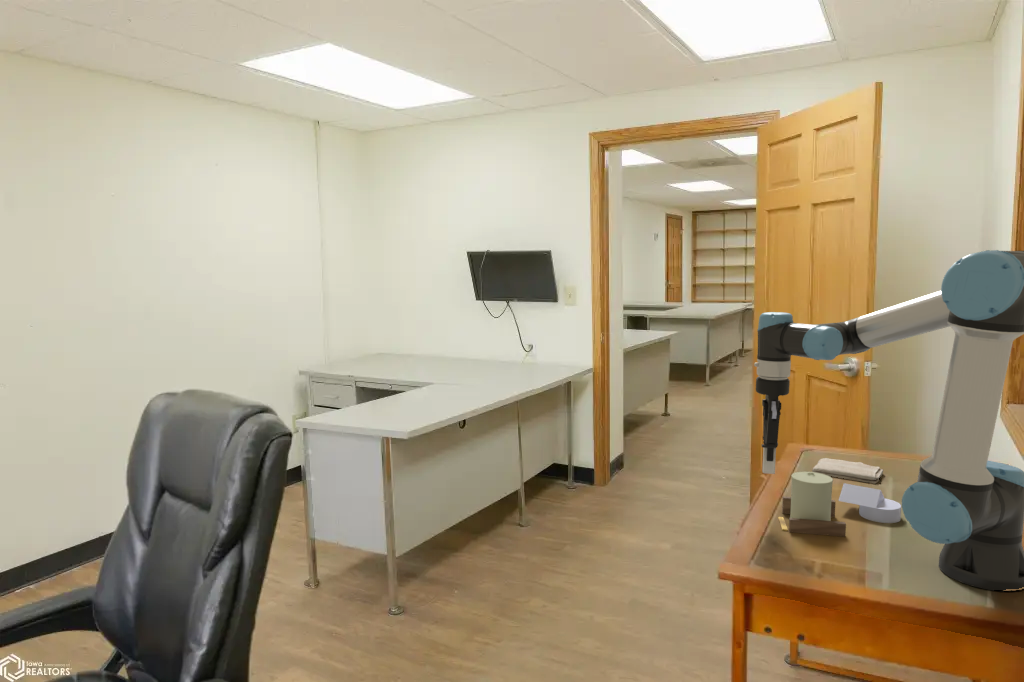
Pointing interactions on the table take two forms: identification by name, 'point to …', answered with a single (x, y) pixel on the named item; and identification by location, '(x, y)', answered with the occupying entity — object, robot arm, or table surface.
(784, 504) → the channel
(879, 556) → the table surface
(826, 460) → the washcloth
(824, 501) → the can
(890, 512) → the wedge on round base
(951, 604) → the table surface
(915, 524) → the robot arm
